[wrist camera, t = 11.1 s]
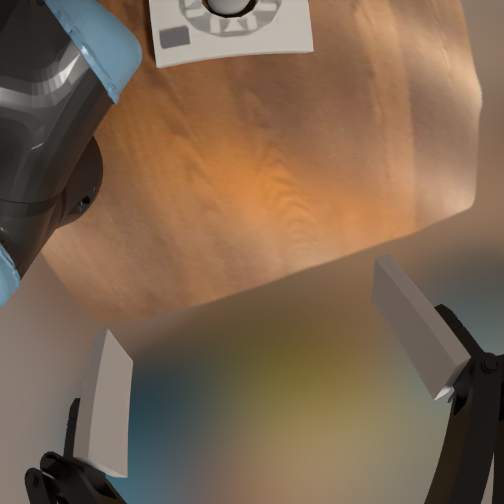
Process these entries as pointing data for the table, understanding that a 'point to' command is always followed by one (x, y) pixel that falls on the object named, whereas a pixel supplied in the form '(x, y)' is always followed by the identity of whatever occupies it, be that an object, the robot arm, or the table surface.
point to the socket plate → (227, 31)
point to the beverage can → (227, 6)
